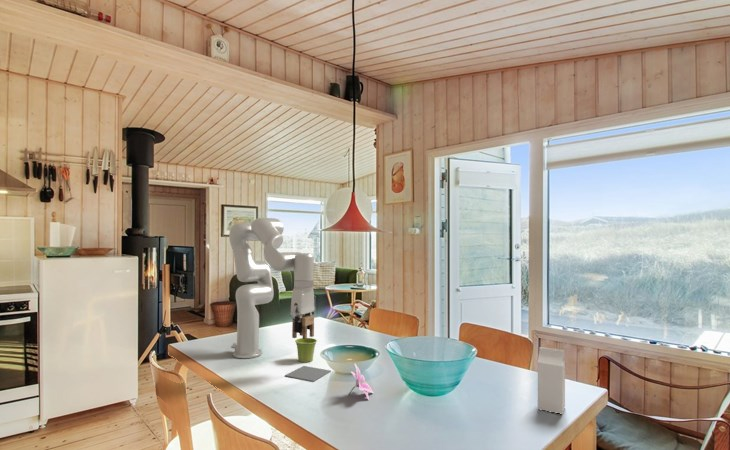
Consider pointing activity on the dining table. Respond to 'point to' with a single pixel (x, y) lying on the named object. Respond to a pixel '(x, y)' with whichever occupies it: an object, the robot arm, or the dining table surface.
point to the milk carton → (551, 380)
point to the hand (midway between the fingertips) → (303, 330)
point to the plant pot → (305, 349)
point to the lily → (361, 382)
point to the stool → (305, 326)
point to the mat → (308, 373)
